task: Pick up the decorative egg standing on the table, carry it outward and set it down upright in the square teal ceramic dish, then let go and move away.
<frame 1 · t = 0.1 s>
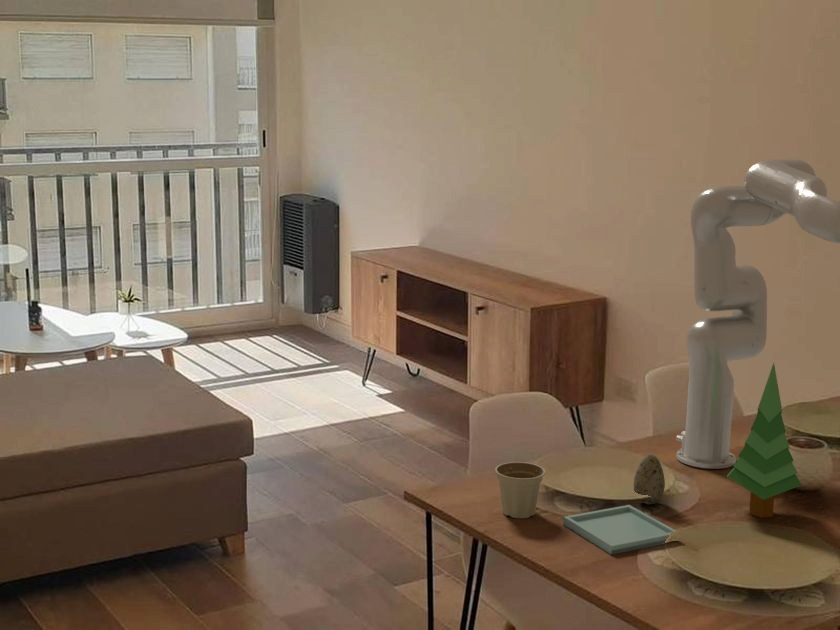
decorative tree: (760, 513, 227), on the table
teal dish: (620, 532, 216), on the table
flower pot: (518, 514, 225), on the table
decorative egg: (647, 504, 231), on the table
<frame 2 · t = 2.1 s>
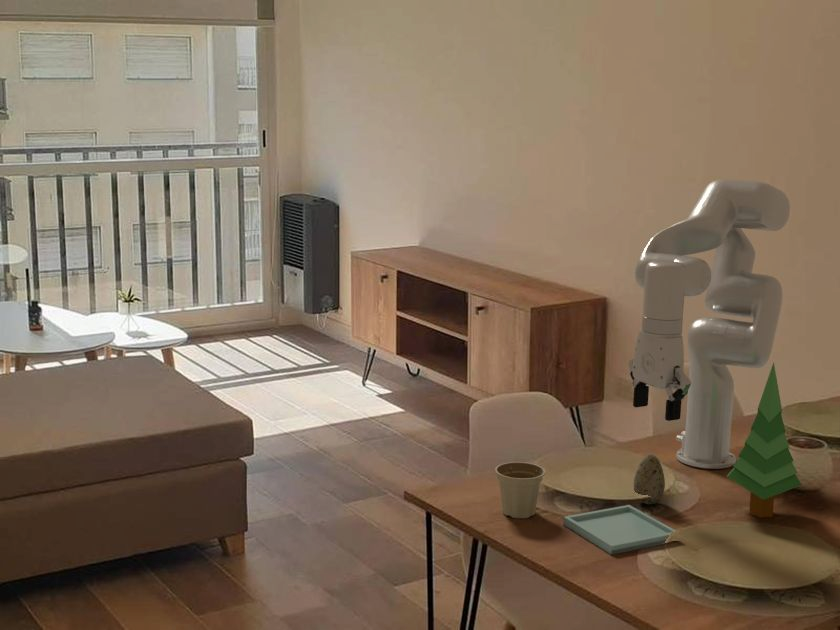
hand: (656, 412, 227), 19 cm above the table, tool pointing down, fingers open, 9 cm apart
nothing on the table moved.
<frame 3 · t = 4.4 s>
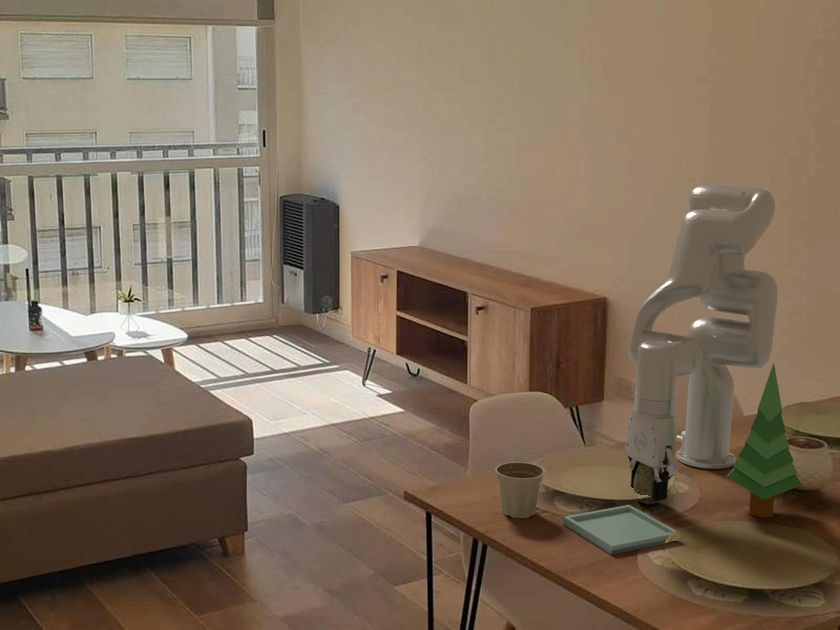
hand: (648, 493, 231), 2 cm above the table, tool pointing down, fingers closed on decorative egg, 6 cm apart
decorative egg: (647, 504, 231), on the table, touching gripper
everything else where it was.
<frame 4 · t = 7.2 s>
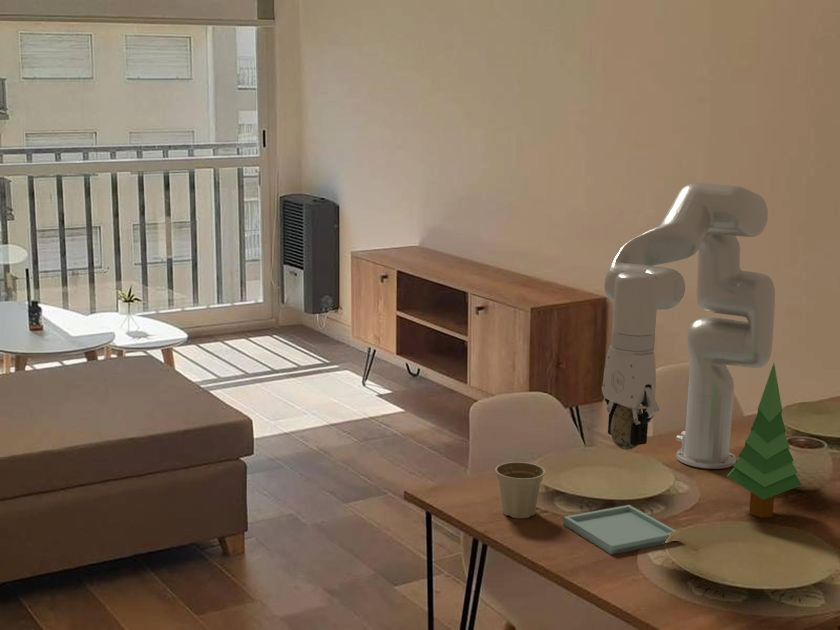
hand: (627, 438, 213), 18 cm above the table, tool pointing down, fingers closed on decorative egg, 6 cm apart
decorative egg: (626, 450, 213), point 16 cm above the table, touching gripper
everything else where it was.
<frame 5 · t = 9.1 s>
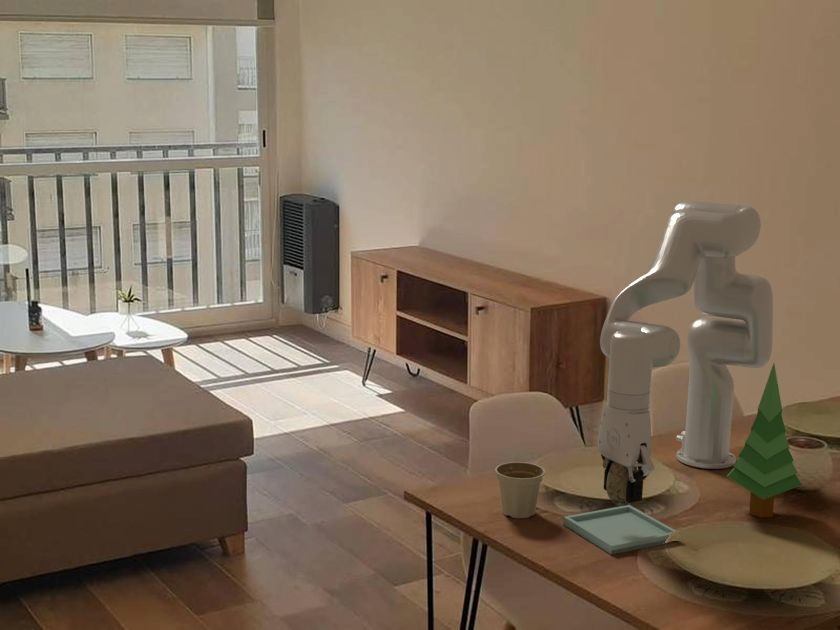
hand: (622, 494, 215), 7 cm above the table, tool pointing down, fingers closed on decorative egg, 6 cm apart
decorative egg: (621, 506, 215), point 5 cm above the table, touching gripper
everything else where it was.
when the fingers open (3 cm above the table, at t = 10.4 s): decorative egg stays where it is, resting on teal dish.
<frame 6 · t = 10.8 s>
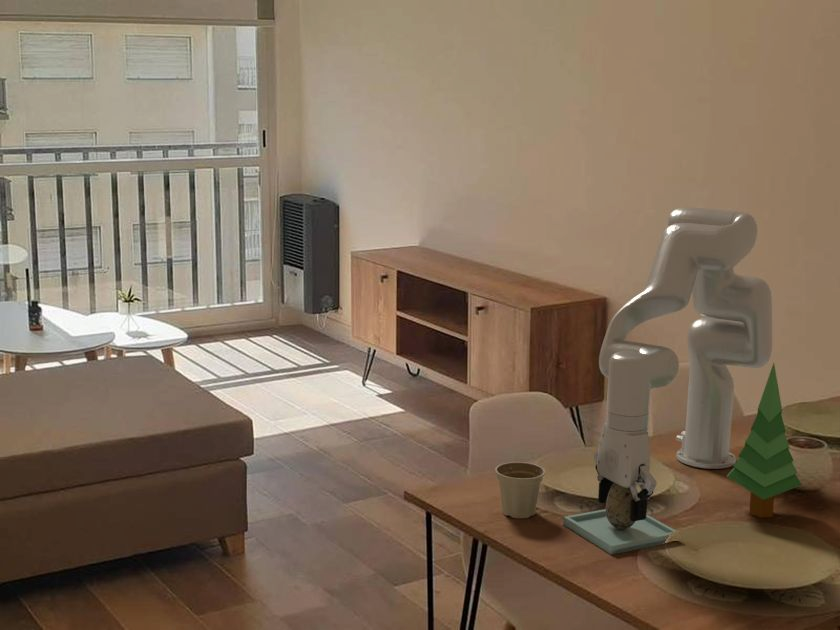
hand: (621, 510, 215), 4 cm above the table, tool pointing down, fingers open, 9 cm apart
decorative egg: (621, 529, 216), point 1 cm above the table, touching teal dish
everything else where it was.
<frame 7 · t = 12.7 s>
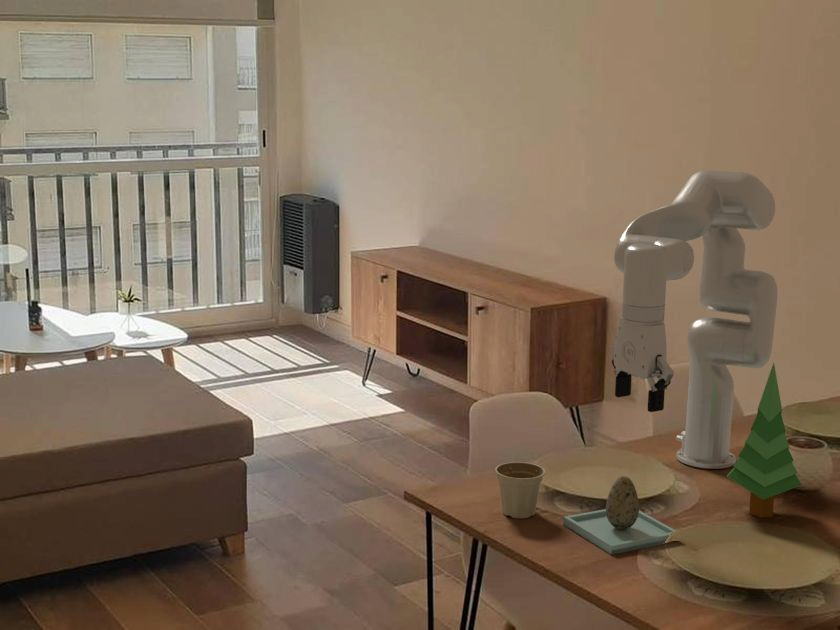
hand: (638, 403, 216), 23 cm above the table, tool pointing down, fingers open, 9 cm apart
nothing on the table moved.
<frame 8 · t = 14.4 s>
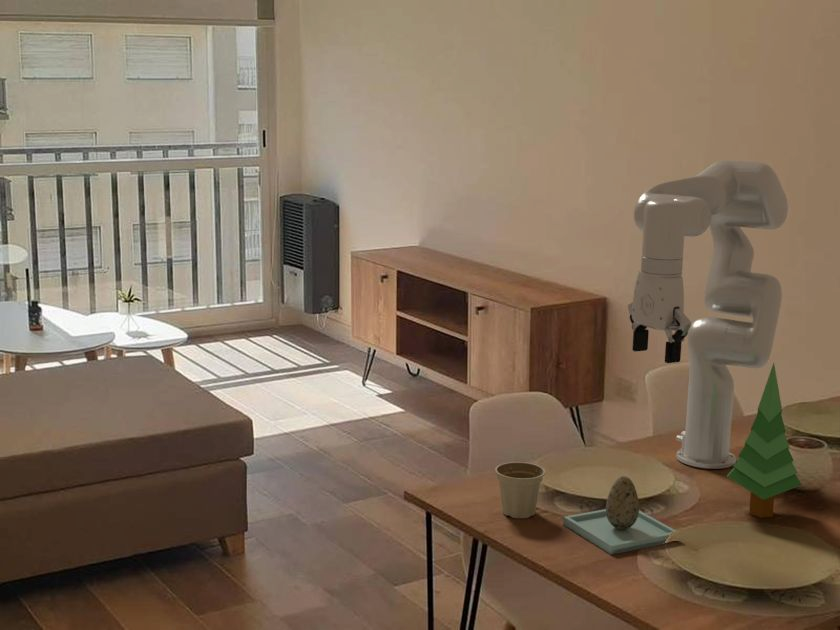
hand: (655, 356, 222), 30 cm above the table, tool pointing down, fingers open, 9 cm apart
nothing on the table moved.
at the end: decorative egg inside the target area on the teal dish (0.2 cm from its centre), point 0.6 cm above the teal dish's base; decorative egg tilted 0°; the gripper is holding nothing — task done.
